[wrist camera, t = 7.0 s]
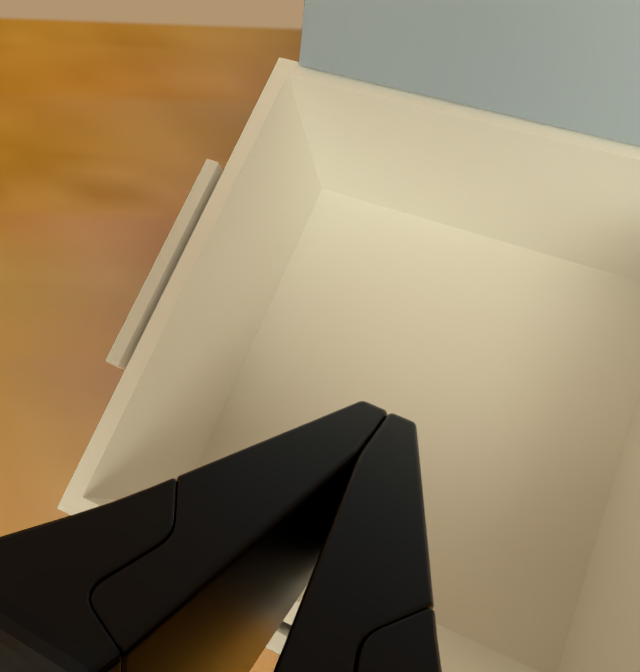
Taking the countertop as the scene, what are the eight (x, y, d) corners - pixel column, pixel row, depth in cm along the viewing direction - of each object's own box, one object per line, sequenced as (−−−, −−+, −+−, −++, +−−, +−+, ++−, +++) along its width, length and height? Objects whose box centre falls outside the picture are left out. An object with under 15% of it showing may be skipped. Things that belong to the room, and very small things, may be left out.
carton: (579, 732, 18) (671, 857, 11) (144, 522, 22) (23, 522, 15) (702, 292, 21) (831, 187, 14) (302, 177, 25) (260, 52, 18)
